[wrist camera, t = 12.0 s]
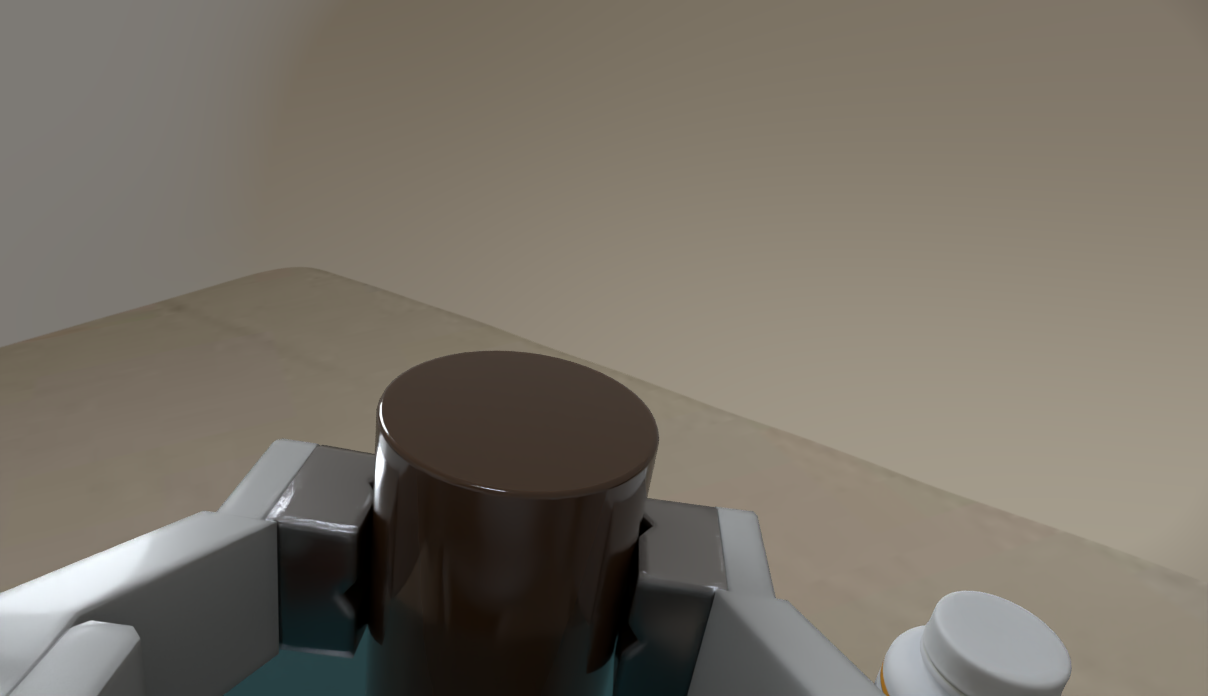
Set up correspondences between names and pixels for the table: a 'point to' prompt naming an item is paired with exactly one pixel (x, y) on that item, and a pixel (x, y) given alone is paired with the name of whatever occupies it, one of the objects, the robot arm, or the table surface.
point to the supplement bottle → (976, 652)
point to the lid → (493, 534)
